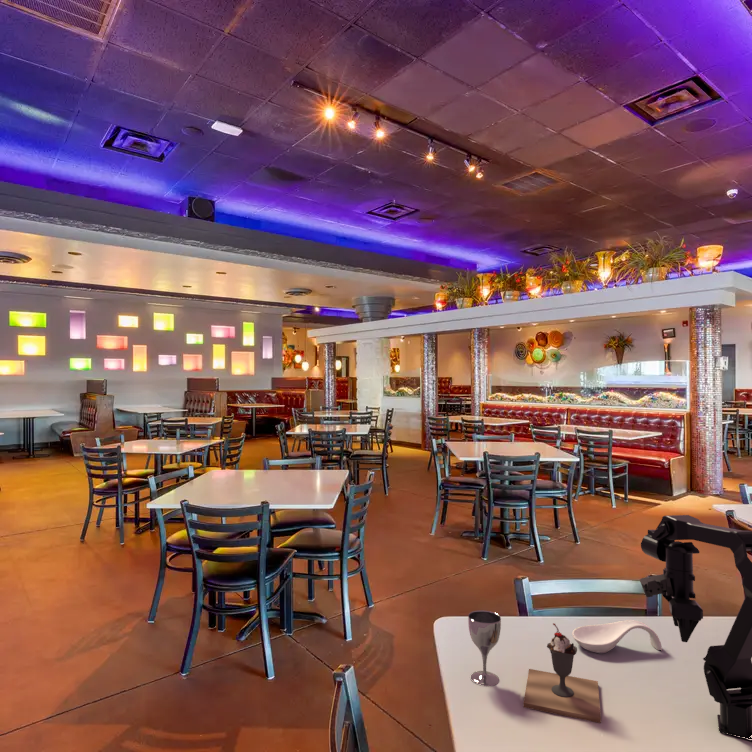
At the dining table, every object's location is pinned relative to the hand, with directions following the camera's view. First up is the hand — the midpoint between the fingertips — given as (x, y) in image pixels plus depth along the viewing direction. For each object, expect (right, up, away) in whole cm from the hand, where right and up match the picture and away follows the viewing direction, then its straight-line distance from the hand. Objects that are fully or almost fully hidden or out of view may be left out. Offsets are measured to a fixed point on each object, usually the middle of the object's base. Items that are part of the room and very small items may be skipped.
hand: (680, 633), depth 126 cm
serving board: (-30, -13, -4) cm, 33 cm away
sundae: (-30, -12, -4) cm, 32 cm away
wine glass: (-46, -13, +4) cm, 48 cm away
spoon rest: (-6, -15, +21) cm, 26 cm away
